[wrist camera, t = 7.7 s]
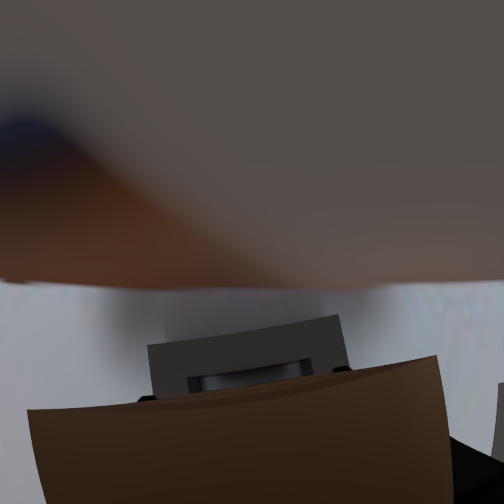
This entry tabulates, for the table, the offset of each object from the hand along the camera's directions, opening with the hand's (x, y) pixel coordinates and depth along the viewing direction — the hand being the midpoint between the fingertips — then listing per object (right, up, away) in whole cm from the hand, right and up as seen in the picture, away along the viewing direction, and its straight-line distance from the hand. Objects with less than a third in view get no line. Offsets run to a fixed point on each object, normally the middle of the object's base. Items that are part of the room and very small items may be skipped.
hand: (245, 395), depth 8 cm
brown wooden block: (0, -4, +6) cm, 7 cm away
